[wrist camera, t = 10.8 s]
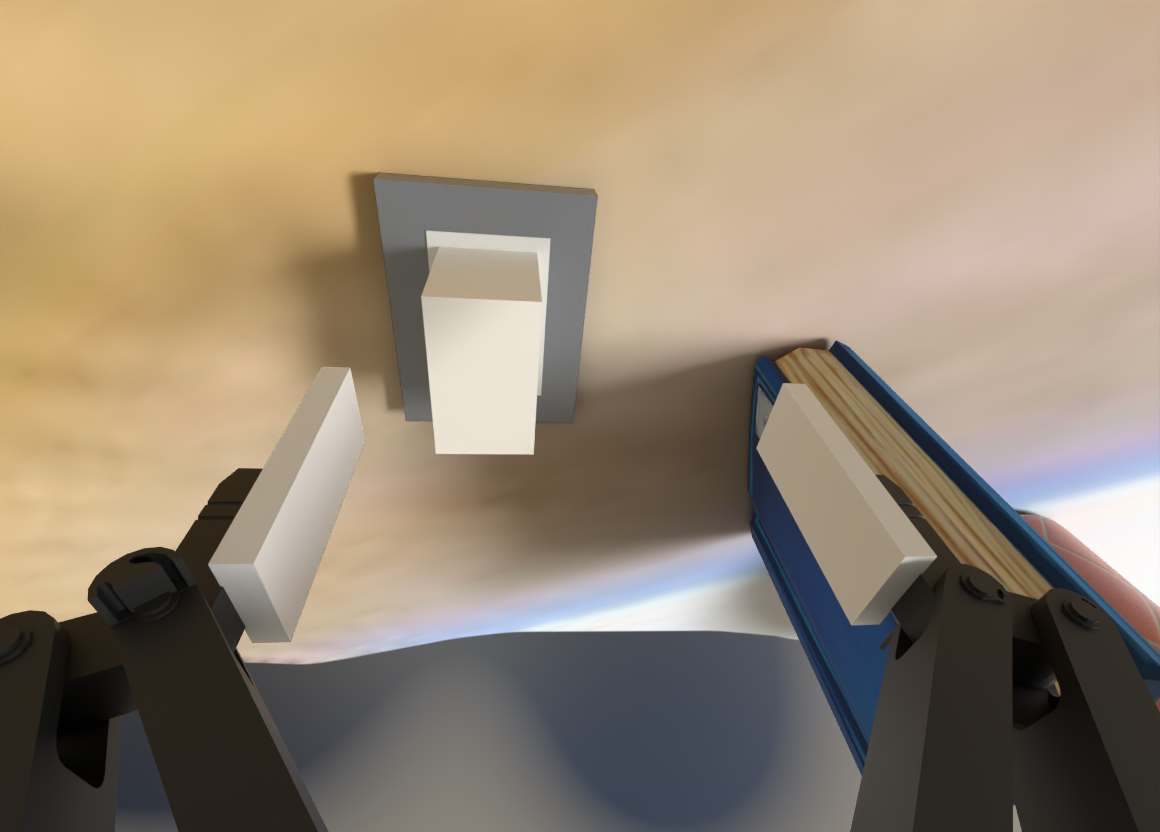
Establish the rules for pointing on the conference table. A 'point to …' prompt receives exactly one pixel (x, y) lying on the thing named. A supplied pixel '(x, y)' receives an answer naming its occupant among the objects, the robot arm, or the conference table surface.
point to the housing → (483, 349)
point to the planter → (1102, 579)
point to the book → (935, 486)
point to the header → (495, 222)
